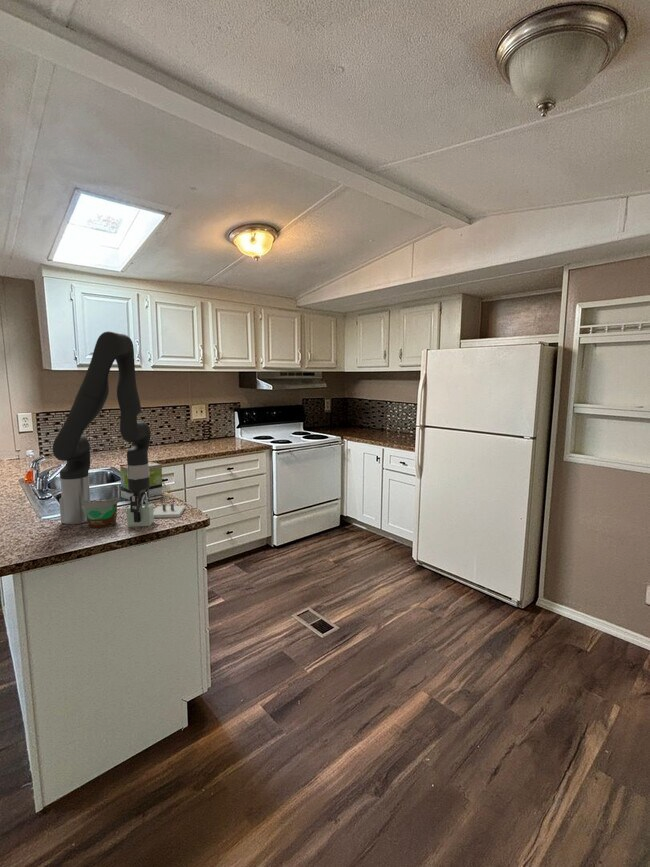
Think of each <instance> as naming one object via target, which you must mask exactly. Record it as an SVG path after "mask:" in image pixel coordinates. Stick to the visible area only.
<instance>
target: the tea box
mask: <svg viewBox="0 0 650 867" xmlns="http://www.w3.org/2000/svg"><path fill="white" fill-rule="evenodd" d="M148 465H149V473H150V487H149V498H151V497H155V496H154V495H156V496H161V494H162V495H163V466H162V465H163V464H161V463H157V462H152V461H148ZM119 468H120V493H121V494H120V495H121V498H123V499H125V500H128V501H130V496H133V491H132V490H129V489H128V479H127V465H122V466H120V467H119Z"/></svg>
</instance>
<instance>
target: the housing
mask: <svg viewBox="0 0 650 867" xmlns="http://www.w3.org/2000/svg"><path fill="white" fill-rule="evenodd" d="M135 509H136V507H135ZM125 510H126V523H127V524H126V525H127V527H129V528H130V527H131V528H132V527H149V526H150V527H151V525H153V523H154V522H155V518H154V512H153V511H154V503H148V504H143V506H141V510H140V514H141V521H140V522H134V513H133V512H132V513H131V511H130V505H129V506H127V507H126V509H125Z"/></svg>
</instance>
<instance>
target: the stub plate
mask: <svg viewBox="0 0 650 867" xmlns="http://www.w3.org/2000/svg"><path fill="white" fill-rule="evenodd" d="M185 510H186V505H175V503H170V505H166V503H162V505H161V506H160V505H157V507H156V508H155V509H153V512H154V519H155V518H156V519H158V518H160V519H161V518H180V517H181V515H182V514H183V512H184V511H185Z"/></svg>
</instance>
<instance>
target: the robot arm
mask: <svg viewBox="0 0 650 867" xmlns="http://www.w3.org/2000/svg"><path fill="white" fill-rule="evenodd" d="M134 348H135V347H134V343H133V341H132V338H130V336H129V335H127V334H125V333H120V332H116V331H112V330H111V331H104V332H102V333H101V334H100V335H99V337H98V338H97V340H96V342H95V345H94V348H93V352H92V355H91V359H90V362H89V365H88V368H87V370H86V373H85V375H84V377H83V380H82V382H81V384H80V387H79V389H78V392H77V393H76V396H75V397H74V401H73V403H72V406H71V409H70V411H69V412H68V415H67V418H66V420H65V422H64V424H63V425H62V427H61V428H60V430H59V432H58V434H57V435H56V437H55V439H54V441H53V443H52V454H53V456H54V457H55V458H56V460H59V461H62V462H64V461H65V462H66V463H65V465H64V466H63V467H62V469H60V470H59V481H60V493H61V494H60V496H61V497H60V498H59V499H58V502H59V512H60V513H59V514H60V523H61V524H65V525H78V524H83V523H84V524H85V523H86V522H87V517H86V512H85V507H83V506H82V503H83V500H85V501H91V493H90V491H91V490H90V479H89V478H90V477H89V471H90V468H91V447H90V446H91V445H90V441H89V439H88V438H87V437H86V436H85V435H84V434H83V433H84V432H85V430H86V429H87V427H88V426H89V425H90V424H91V423H92V422H93V421H94V420H95V419H96V418H97V417H98V415H99V414H100V413H101V411H102V410H103V409H104V406H105V403H106V402H107V399H108V396H109V392H110V385H109V373H110V371H111V368H112V366H113V365H114V362H115V361H116V365H117V369H118V379H117V380H118V381H117V387H116V398H117V402H118V406H119V411H120V416H119V420H120V421H119V431H120V435H121V438H122V439H123V440H124V442H126V443H132V446H131V447H130V448H129V449H127V451H126V464H127V479H128V489H129V490H132V491H133V496H130V500H129V506H130V511H131V513H132V512H133V513H134V522H140V521H141V514H140V510H141V506H143V504H149V502H150V497H149V487H150V473H149V465H148V462H149V456H148V452H149V451H148V450H149V447H150V442H151V435H152V434H151V433H152V432H151V427H150V426H149V425H148V423H146V422H144V421H138V415H140V414H142V406H141V400H140V396H139V392H138V385H137V381H136V380H137V378H136V368H135V367H136V364H135V349H134ZM135 507H136V509H135ZM87 523H88V522H87Z"/></svg>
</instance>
